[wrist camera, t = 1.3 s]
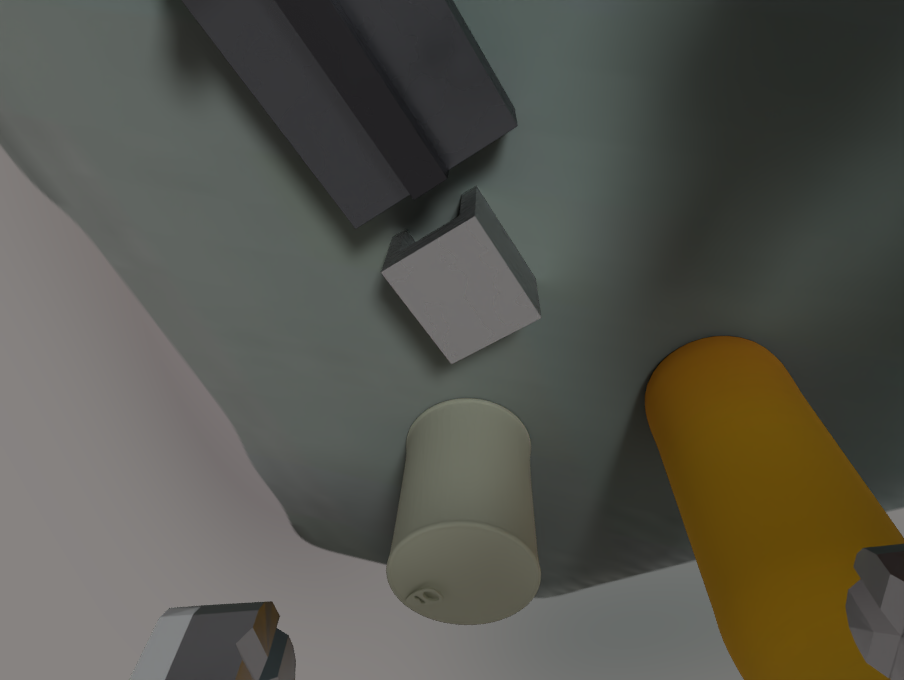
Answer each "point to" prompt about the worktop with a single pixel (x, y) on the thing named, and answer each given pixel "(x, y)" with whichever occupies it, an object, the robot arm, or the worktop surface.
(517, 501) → the can
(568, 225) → the worktop surface
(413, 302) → the notched grey block
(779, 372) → the beer bottle
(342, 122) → the base
